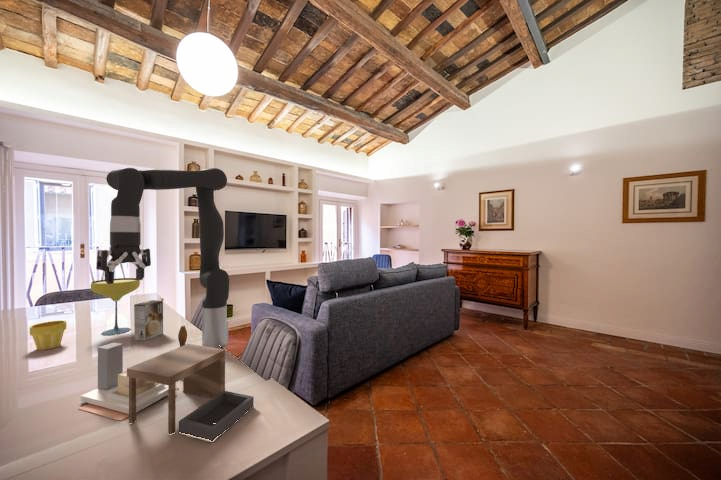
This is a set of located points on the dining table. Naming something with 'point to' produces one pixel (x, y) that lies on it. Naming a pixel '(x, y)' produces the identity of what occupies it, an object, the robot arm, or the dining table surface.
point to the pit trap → (216, 415)
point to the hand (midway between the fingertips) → (125, 281)
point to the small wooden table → (180, 375)
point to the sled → (108, 383)
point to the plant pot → (48, 334)
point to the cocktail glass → (115, 296)
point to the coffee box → (148, 319)
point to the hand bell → (182, 336)
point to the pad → (105, 411)
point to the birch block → (140, 385)
